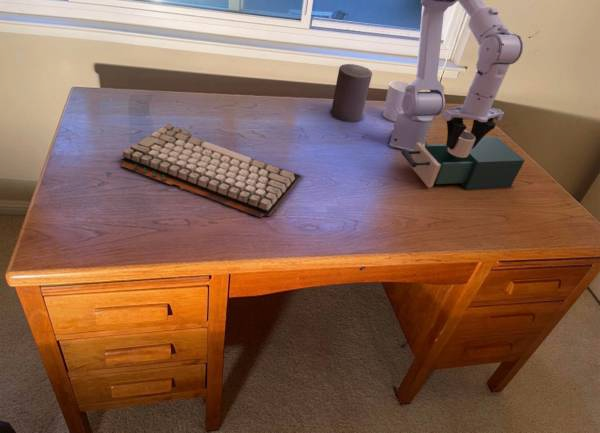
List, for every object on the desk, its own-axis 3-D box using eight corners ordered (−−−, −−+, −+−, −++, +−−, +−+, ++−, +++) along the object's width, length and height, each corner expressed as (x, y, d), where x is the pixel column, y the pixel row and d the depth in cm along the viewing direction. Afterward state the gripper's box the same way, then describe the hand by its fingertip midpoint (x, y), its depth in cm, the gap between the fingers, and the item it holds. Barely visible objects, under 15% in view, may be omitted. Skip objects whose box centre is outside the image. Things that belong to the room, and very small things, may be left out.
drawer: (409, 188, 103) (417, 166, 99) (391, 164, 110) (398, 142, 106) (471, 185, 108) (481, 163, 104) (450, 162, 115) (458, 141, 111)
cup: (447, 154, 101) (454, 137, 98) (447, 144, 105) (453, 127, 102) (469, 159, 101) (476, 142, 98) (468, 149, 105) (475, 132, 102)
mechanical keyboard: (301, 176, 102) (302, 164, 100) (266, 222, 88) (268, 209, 86) (164, 131, 110) (163, 119, 108) (113, 166, 96) (110, 153, 94)
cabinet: (465, 189, 107) (478, 162, 102) (442, 164, 116) (452, 137, 111) (510, 187, 111) (525, 160, 106) (484, 162, 120) (497, 136, 114)
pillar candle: (324, 111, 131) (332, 62, 122) (344, 104, 137) (354, 57, 128) (348, 124, 126) (359, 74, 117) (368, 116, 132) (380, 68, 123)
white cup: (407, 115, 137) (417, 85, 131) (404, 125, 131) (413, 94, 125) (383, 108, 138) (391, 78, 132) (378, 118, 132) (387, 87, 126)
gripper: (464, 100, 89) (441, 156, 97) (521, 100, 93) (495, 154, 101) (446, 85, 94) (426, 140, 102) (501, 86, 98) (478, 139, 106)
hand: (459, 146), depth 102 cm, fingers closed on cup, 5 cm apart
